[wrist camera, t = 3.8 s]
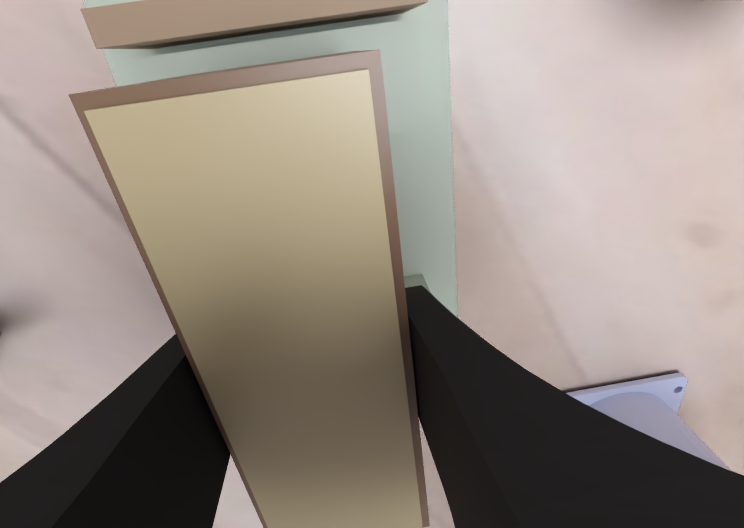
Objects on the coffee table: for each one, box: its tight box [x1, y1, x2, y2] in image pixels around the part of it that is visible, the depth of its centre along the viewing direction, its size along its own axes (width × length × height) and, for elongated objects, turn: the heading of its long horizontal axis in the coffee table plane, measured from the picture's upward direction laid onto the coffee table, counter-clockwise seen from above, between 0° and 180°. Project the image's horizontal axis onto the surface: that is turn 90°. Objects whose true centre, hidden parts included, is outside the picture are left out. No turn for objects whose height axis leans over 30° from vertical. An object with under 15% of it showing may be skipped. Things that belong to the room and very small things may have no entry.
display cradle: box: [81, 0, 457, 317], centre depth 15 cm, size 16×11×4 cm
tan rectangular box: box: [69, 50, 430, 528], centre depth 10 cm, size 11×4×6 cm, turn 7°
